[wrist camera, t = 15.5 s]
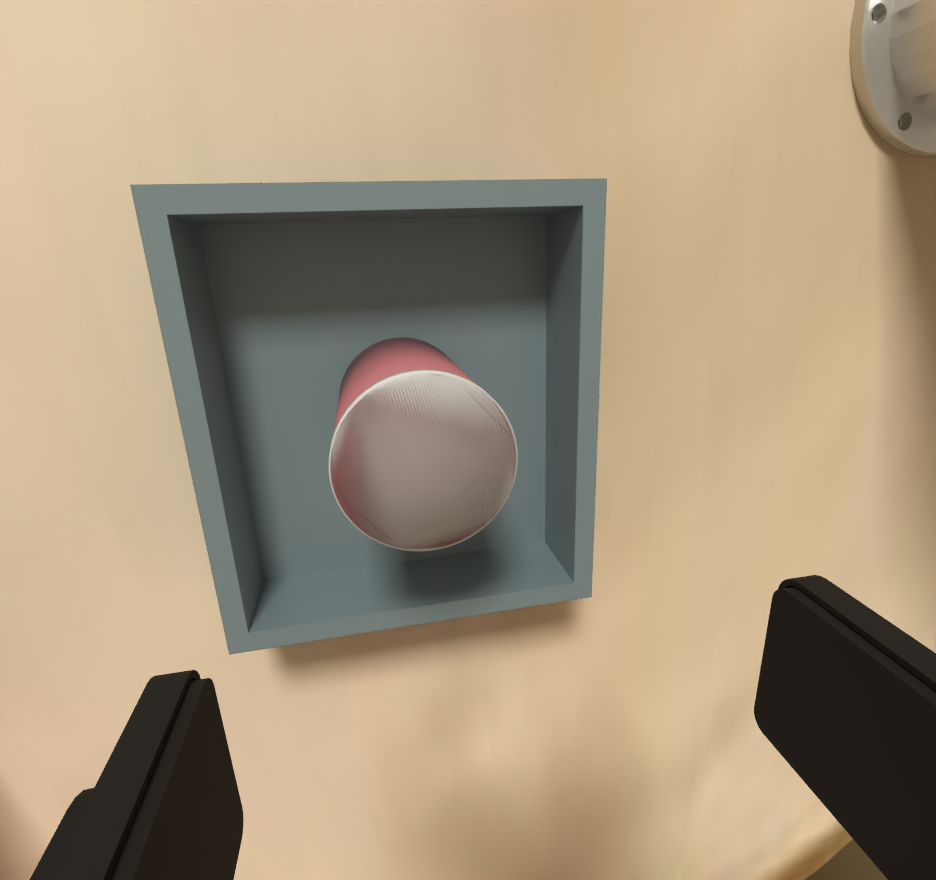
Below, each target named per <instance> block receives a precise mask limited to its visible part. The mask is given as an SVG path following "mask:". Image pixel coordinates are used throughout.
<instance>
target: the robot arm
mask: <svg viewBox="0 0 936 880" xmlns="http://www.w3.org/2000/svg"><path fill="white" fill-rule="evenodd" d="M849 56H850V66H851V76H852V82H853V86H854V89H855V93H856V97H857V100H858V103H859V105H860V107H861V109H862V111H863V114H864V116H865V118H866V120H867V121H868V123H869V124H870V125H871V127H872V128H873V129H874V130H875V132H876V133H877V134H878V136H879V137H881V138H882V139H883V140H884V141H886V142H887V143H888V144H890V145H891V146H892V147H894V148H896V149H899V150H901V151H903V152H906V153H908V154H914V155H922V156H930V155H936V0H856V1H855V6H854V11H853V16H852V22H851V29H850V49H849ZM754 714H755V719H756V722H757V724H758V726H759V728H760V730H761V731H762V733H763V734H764V735H765V736H766V737H767V739H768V740H769V741H770V742H771V743H772V744H773V746H774V747H775V748H776V749H777V750H778V751H779V753H780V754H781V755H782V756H783V757H784V758H785V760H786V761H787V762H788V763H789V764H790V766H791V767H792V768H793V769H794V770H795V771H796V773H797V774H798V775H799V776H800V777H801V778H802V780H803V781H804V782H805V783H806V784H807V785H808V787H809V788H810V789H811V790H812V791H813V792H814V794H815V795H816V796H817V797H818V798H819V799H820V801H821V802H822V803H823V804H824V805H825V806H826V808H827V809H828V810H829V811H830V812H831V813H832V815H833V816H834V817H835V818H836V819H837V820H838V822H839V823H840V824H841V825H842V826H843V828H844V829H845V830H846V831H847V832H848V833H849V835H850V836H851V837H852V838H853V839H854V840H855V842H856V843H857V844H858V845H859V846H860V847H861V848H862V850H863V851H864V852H865V853H866V854H867V856H868V857H869V858H870V859H871V860H872V861H873V863H874V864H875V865H876V866H877V867H878V868H879V870H880V871H881V872H882V873H883V874H884V875H885V877H886V878H887V879H888V880H936V653H934V652H933V651H931V650H930V649H928V648H927V647H926V646H924V645H923V644H921V643H920V642H918V641H917V640H915V639H914V638H912V637H911V636H909V635H908V634H906V633H905V632H903V631H902V630H901V629H899V628H898V627H896V626H895V625H893V624H892V623H890V622H889V621H887V620H886V619H884V618H883V617H881V616H880V615H878V614H877V613H876V612H874V611H873V610H871V609H870V608H868V607H867V606H865V605H864V604H862V603H861V602H859V601H858V600H856V599H855V598H853V597H852V596H851V595H849V594H848V593H846V592H845V591H843V590H842V589H840V588H839V587H837V586H836V585H834V584H833V583H831V582H830V581H828V580H827V579H825V578H823V577H821V576H817V575H812V576H805V577H799V578H792V579H787V580H784V581H783V582H782V583H781V584H780V585H779V588H778V590H776V591H775V592H774V594H773V597H772V603H771V609H770V615H769V621H768V627H767V633H766V639H765V645H764V651H763V657H762V664H761V670H760V676H759V682H758V688H757V694H756V700H755V706H754ZM242 834H243V810H242V805H241V800H240V796H239V792H238V787H237V783H236V779H235V774H234V770H233V766H232V761H231V757H230V753H229V748H228V744H227V740H226V735H225V731H224V727H223V722H222V718H221V714H220V709H219V705H218V701H217V696H216V692H215V688H214V684H213V681H212V680H211V679H210V678H207V679H201V678H200V675H199V674H198V672H197V671H195V670H191V671H184V672H178V673H171V674H164V675H158V676H154V677H152V678H151V679H150V680H149V682H148V683H147V685H146V687H145V689H144V691H143V693H142V695H141V697H140V699H139V701H138V703H137V705H136V707H135V709H134V711H133V713H132V715H131V717H130V719H129V721H128V723H127V725H126V726H125V728H124V730H123V732H122V734H121V736H120V738H119V740H118V742H117V744H116V746H115V748H114V750H113V752H112V754H111V756H110V758H109V760H108V762H107V764H106V766H105V768H104V770H103V772H102V774H101V776H100V778H99V780H98V782H97V784H96V786H95V788H91V789H87V790H83V791H82V792H81V793H80V794H79V795H78V796H76V797H75V799H74V800H73V802H72V803H71V805H70V806H69V808H68V809H67V811H66V813H65V815H64V817H63V819H62V820H61V822H60V824H59V826H58V828H57V830H56V832H55V834H54V835H53V837H52V839H51V841H50V843H49V845H48V847H47V848H46V850H45V852H44V854H43V856H42V858H41V860H40V862H39V863H38V865H37V867H36V869H35V871H34V873H33V875H32V876H31V878H30V880H233V879H234V874H235V869H236V864H237V859H238V855H239V850H240V845H241V840H242Z"/></svg>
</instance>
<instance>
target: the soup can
mask: <svg viewBox="0 0 936 880" xmlns="http://www.w3.org/2000/svg"><path fill="white" fill-rule="evenodd" d="M517 464H518V451H517V444H516V439H515V435H514V432H513V428H512V426H511V424H510V422H509V419H508V418H507V416H506V414H505V413H504V411H503V410H502V408H501V407H500V406H499V405H498V403H497V402H496V401H495V400H494V399H493V398H492V397H491V396H490V395H489V394H488V393H487V392H485V391H484V390H483V389H482V388H481V387H479V386H478V385H476V384H475V383H474V382H473V381H472V380H471V379H470V378H469V377H468V376H467V375H466V374H465V373H464V372H463V371H462V370H461V369H460V368H459V367H458V366H457V365H456V364H455V363H454V362H453V361H452V360H451V359H450V358H449V357H448V356H446V355H445V354H444V353H443V352H442V351H441V350H439V349H438V348H436V347H435V346H433V345H431V344H429V343H427V342H424V341H422V340H418V339H414V338H405V337H400V338H391V339H386V340H383V341H380V342H377V343H375V344H373V345H371V346H369V347H368V348H366V349H365V350H363V351H362V352H361V353H360V354H359V355H358V356H356V358H355V359H354V360H353V361H352V362H351V364H350V365H349V367H348V368H347V370H346V372H345V374H344V376H343V379H342V382H341V386H340V392H339V399H338V407H337V414H336V421H335V428H334V434H333V438H332V441H331V447H330V453H329V478H330V484H331V487H332V491H333V494H334V496H335V499H336V501H337V503H338V505H339V507H340V509H341V510H342V512H343V513H344V515H345V516H346V517H347V518H348V520H349V521H350V522H351V523H352V524H353V525H354V526H355V527H356V528H357V529H358V530H359V531H361V532H362V533H363V534H365V535H366V536H368V537H369V538H371V539H373V540H375V541H377V542H379V543H381V544H383V545H386V546H389V547H392V548H396V549H400V550H408V551H430V550H438V549H442V548H446V547H449V546H452V545H455V544H457V543H460V542H462V541H464V540H466V539H468V538H470V537H471V536H473V535H474V534H476V533H477V532H479V531H480V530H482V529H483V528H484V527H485V526H486V525H487V524H489V523H490V522H491V520H492V519H493V518H494V517H495V516H496V515H497V514H498V512H499V511H500V510H501V508H502V507H503V506H504V504H505V502H506V500H507V498H508V497H509V494H510V492H511V490H512V487H513V484H514V481H515V477H516V472H517Z"/></svg>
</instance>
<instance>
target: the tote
mask: <svg viewBox="0 0 936 880" xmlns="http://www.w3.org/2000/svg"><path fill="white" fill-rule="evenodd" d="M130 186H131V191H132V195H133V200H134V205H135V210H136V214H137V219H138V224H139V229H140V233H141V238H142V243H143V248H144V252H145V257H146V262H147V267H148V271H149V276H150V281H151V285H152V290H153V295H154V300H155V304H156V309H157V314H158V319H159V323H160V328H161V333H162V338H163V342H164V347H165V352H166V357H167V361H168V366H169V371H170V376H171V380H172V385H173V390H174V395H175V399H176V404H177V409H178V414H179V418H180V423H181V428H182V433H183V437H184V442H185V447H186V452H187V456H188V461H189V466H190V471H191V475H192V480H193V485H194V489H195V494H196V499H197V504H198V508H199V513H200V518H201V523H202V527H203V532H204V537H205V542H206V546H207V551H208V556H209V561H210V565H211V570H212V575H213V580H214V584H215V589H216V594H217V599H218V603H219V608H220V613H221V618H222V622H223V627H224V632H225V637H226V641H227V646H228V651H229V654H236V653H242V652H248V651H254V650H261V649H267V648H273V647H280V646H286V645H292V644H299V643H305V642H311V641H317V640H324V639H330V638H336V637H343V636H349V635H355V634H361V633H368V632H374V631H380V630H387V629H393V628H399V627H405V626H412V625H418V624H424V623H431V622H437V621H443V620H449V619H456V618H462V617H468V616H475V615H481V614H487V613H493V612H500V611H506V610H512V609H519V608H525V607H531V606H537V605H544V604H550V603H556V602H563V601H569V600H575V599H581V598H588V597H592V571H593V543H594V516H595V489H596V462H597V434H598V407H599V380H600V353H601V325H602V298H603V271H604V243H605V216H606V189H607V179H535V180H458V181H382V182H305V183H229V184H152V185H130ZM400 337H405V338H414V339H418V340H422V341H424V342H427V343H429V344H431V345H433V346H435V347H436V348H438V349H439V350H441V351H442V352H443V353H444V354H445V355H446V356H448V357H449V358H450V359H451V360H452V361H453V362H454V363H455V364H456V365H457V366H458V367H459V368H460V369H461V370H462V371H463V372H464V373H465V374H466V375H467V376H468V377H469V378H470V379H471V380H472V381H473V382H474V383H475V384H476V385H478V386H479V387H481V388H482V389H483V390H484V391H485V392H487V393H488V394H489V395H490V396H491V397H492V398H493V399H494V400H495V401H496V402H497V403H498V405H499V406H500V407H501V408H502V410H503V411H504V413H505V414H506V416H507V418H508V419H509V422H510V424H511V426H512V428H513V432H514V435H515V439H516V444H517V451H518V464H517V472H516V477H515V481H514V484H513V487H512V490H511V492H510V494H509V497H508V498H507V500H506V502H505V504H504V506H503V507H502V508H501V510H500V511H499V512H498V514H497V515H496V516H495V517H494V518H493V519H492V520H491V522H490V523H489V524H487V525H486V526H485V527H484V528H483V529H482V530H480V531H479V532H477V533H476V534H474V535H473V536H471V537H470V538H468V539H466V540H464V541H462V542H460V543H457V544H455V545H452V546H449V547H446V548H442V549H438V550H430V551H408V550H400V549H396V548H392V547H389V546H386V545H383V544H381V543H379V542H377V541H375V540H373V539H371V538H369V537H368V536H366V535H365V534H363V533H362V532H361V531H359V530H358V529H357V528H356V527H355V526H354V525H353V524H352V523H351V522H350V521H349V520H348V518H347V517H346V516H345V515H344V513H343V512H342V510H341V509H340V507H339V505H338V503H337V501H336V499H335V496H334V494H333V491H332V487H331V484H330V478H329V453H330V447H331V441H332V438H333V434H334V428H335V421H336V414H337V407H338V399H339V392H340V386H341V382H342V379H343V376H344V374H345V372H346V370H347V368H348V367H349V365H350V364H351V362H352V361H353V360H354V359H355V358H356V356H358V355H359V354H360V353H361V352H362V351H363V350H365V349H366V348H368V347H369V346H371V345H373V344H375V343H377V342H380V341H383V340H386V339H391V338H400Z"/></svg>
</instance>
